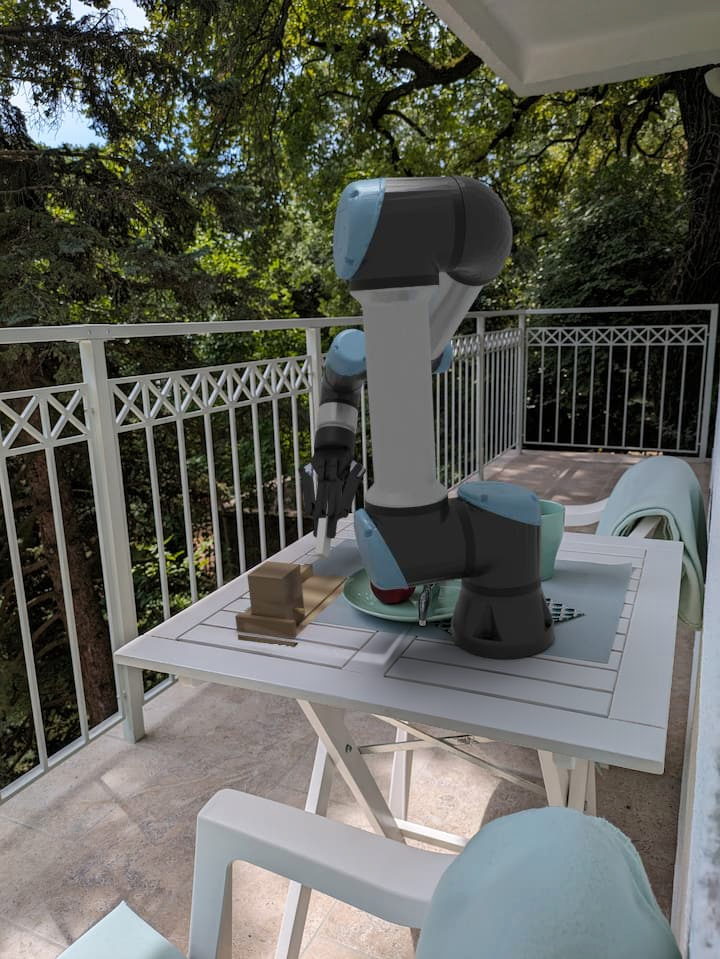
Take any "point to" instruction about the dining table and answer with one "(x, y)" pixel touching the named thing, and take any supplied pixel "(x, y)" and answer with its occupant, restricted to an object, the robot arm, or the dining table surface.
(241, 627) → the brown wooden tray
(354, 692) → the dining table surface
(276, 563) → the brown wooden block
